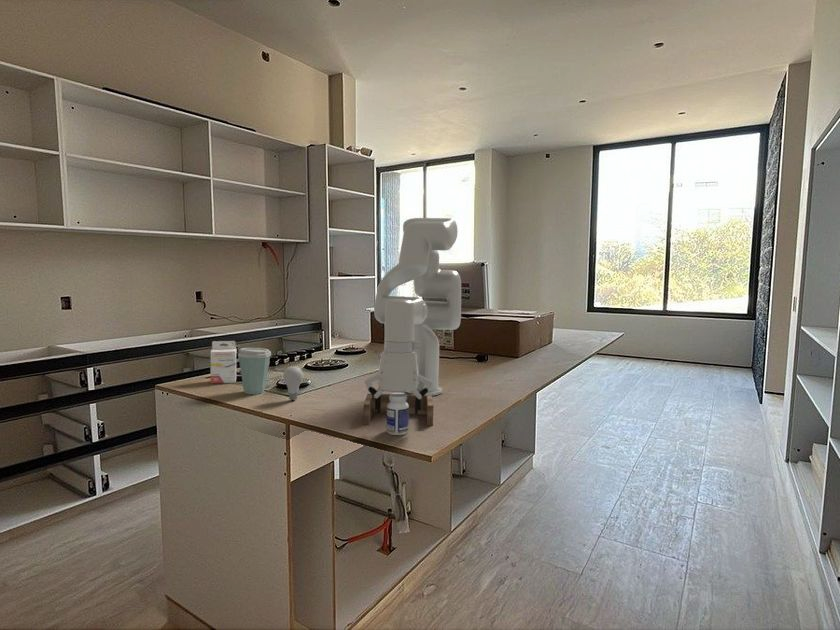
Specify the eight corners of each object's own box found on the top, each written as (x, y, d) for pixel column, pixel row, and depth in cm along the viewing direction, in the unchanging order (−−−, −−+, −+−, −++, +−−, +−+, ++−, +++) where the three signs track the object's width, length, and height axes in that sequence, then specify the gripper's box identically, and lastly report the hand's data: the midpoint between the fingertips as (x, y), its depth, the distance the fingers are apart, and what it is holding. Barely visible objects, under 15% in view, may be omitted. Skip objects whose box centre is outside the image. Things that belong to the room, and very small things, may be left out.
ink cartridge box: (210, 384, 170) (209, 343, 169) (211, 380, 175) (211, 341, 173) (236, 382, 173) (235, 342, 171) (236, 379, 177) (236, 340, 176)
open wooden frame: (367, 411, 141) (367, 393, 141) (431, 412, 142) (431, 394, 141) (363, 424, 130) (363, 404, 129) (432, 425, 130) (433, 405, 130)
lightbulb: (295, 404, 147) (295, 369, 146) (279, 401, 150) (279, 367, 148) (307, 399, 153) (307, 365, 152) (290, 397, 155) (290, 363, 154)
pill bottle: (408, 428, 127) (409, 392, 126) (408, 436, 121) (409, 397, 121) (386, 428, 127) (387, 391, 126) (386, 435, 121) (386, 397, 120)
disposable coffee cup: (256, 386, 167) (256, 344, 166) (278, 391, 162) (278, 347, 161) (231, 393, 158) (230, 348, 157) (253, 398, 153) (253, 352, 151)
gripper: (432, 345, 126) (430, 409, 127) (366, 344, 125) (365, 407, 127) (433, 350, 118) (431, 417, 120) (363, 349, 118) (362, 416, 120)
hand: (397, 412), depth 124 cm, fingers open, 9 cm apart
